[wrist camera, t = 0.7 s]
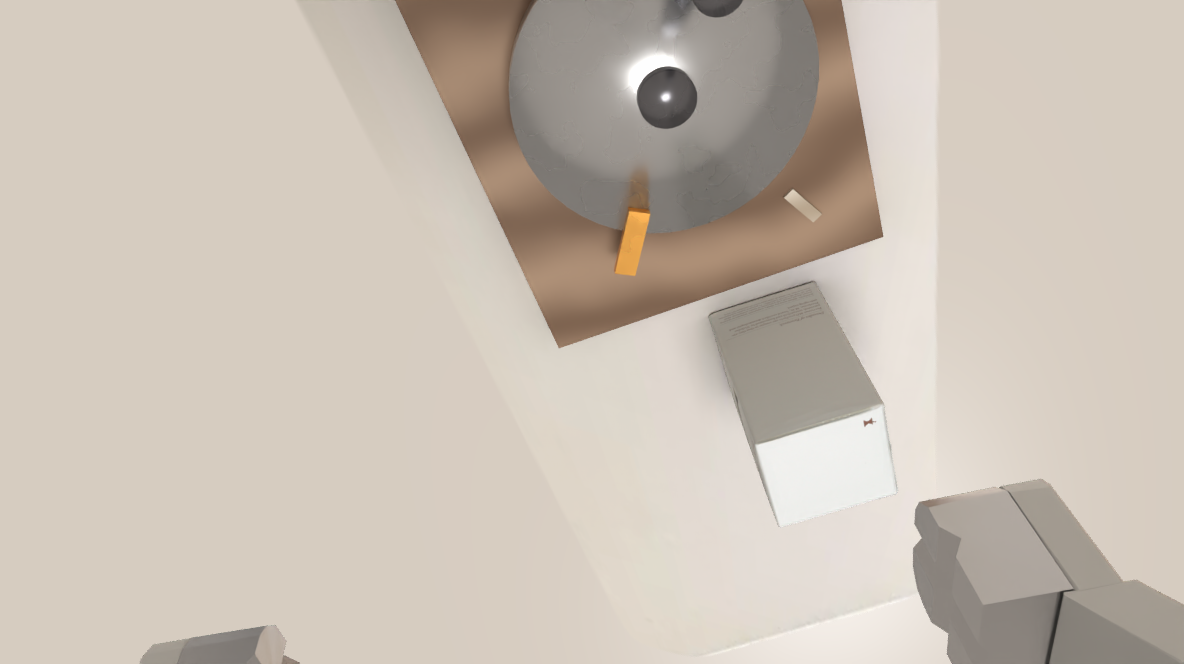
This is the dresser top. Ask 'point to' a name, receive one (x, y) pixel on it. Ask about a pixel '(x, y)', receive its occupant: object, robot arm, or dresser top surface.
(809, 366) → the supplement box
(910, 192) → the dresser top surface
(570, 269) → the base board
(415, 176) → the dresser top surface
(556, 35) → the dial
